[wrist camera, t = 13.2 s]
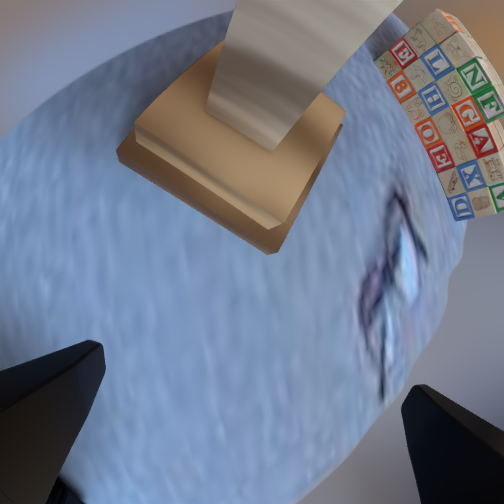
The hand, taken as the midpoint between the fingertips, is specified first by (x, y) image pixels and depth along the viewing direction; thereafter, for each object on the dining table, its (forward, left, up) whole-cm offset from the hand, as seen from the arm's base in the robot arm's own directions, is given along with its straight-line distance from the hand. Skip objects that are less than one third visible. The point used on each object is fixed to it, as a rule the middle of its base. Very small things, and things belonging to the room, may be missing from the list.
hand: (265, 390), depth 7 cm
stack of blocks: (+32, +8, -12) cm, 35 cm away
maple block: (+7, +11, -10) cm, 16 cm away
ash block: (+7, +11, -7) cm, 15 cm away
